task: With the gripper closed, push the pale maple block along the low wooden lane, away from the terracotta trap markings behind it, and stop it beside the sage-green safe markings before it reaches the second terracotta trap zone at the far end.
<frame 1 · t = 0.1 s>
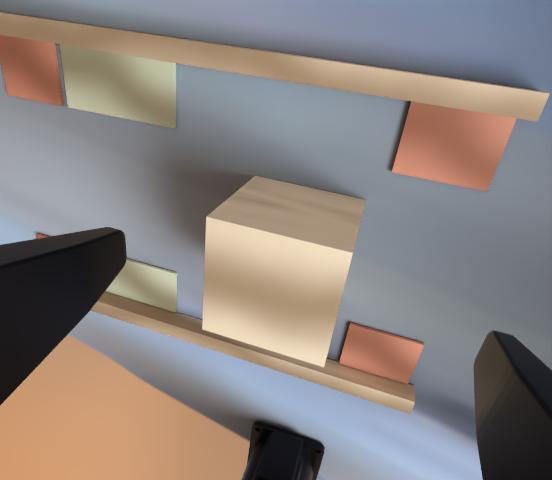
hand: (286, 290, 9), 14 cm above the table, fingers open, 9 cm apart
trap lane: (215, 217, 26), on the table
maple block: (300, 237, 25), on the table
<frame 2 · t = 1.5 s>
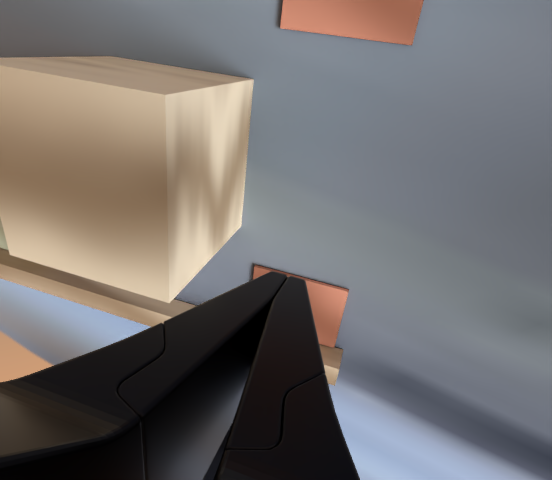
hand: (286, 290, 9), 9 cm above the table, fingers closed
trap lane: (74, 124, 20), on the table
maple block: (180, 145, 18), on the table
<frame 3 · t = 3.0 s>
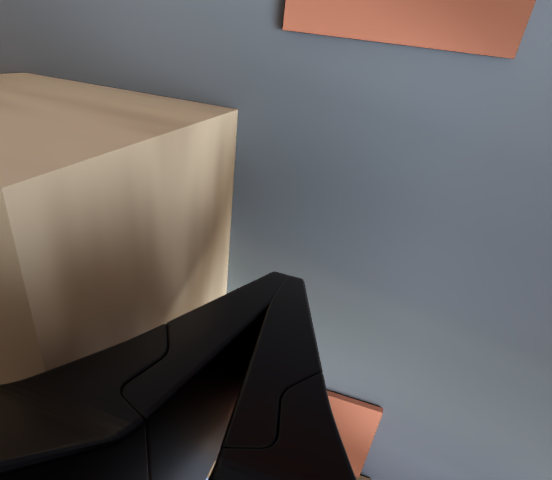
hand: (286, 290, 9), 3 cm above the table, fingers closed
maple block: (132, 202, 13), on the table, touching gripper
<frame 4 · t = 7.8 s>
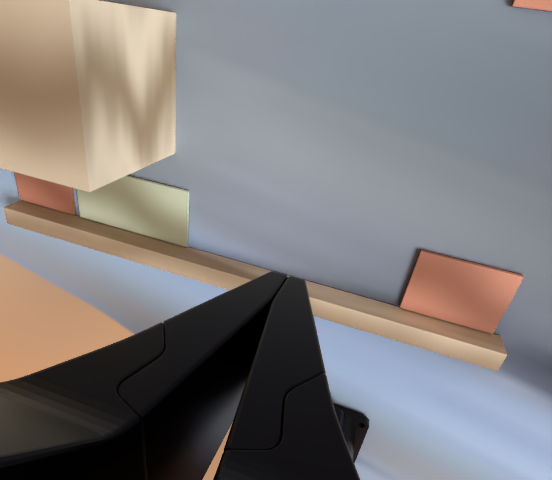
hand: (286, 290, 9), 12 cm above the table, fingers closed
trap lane: (245, 104, 19), on the table
maple block: (119, 77, 21), on the table
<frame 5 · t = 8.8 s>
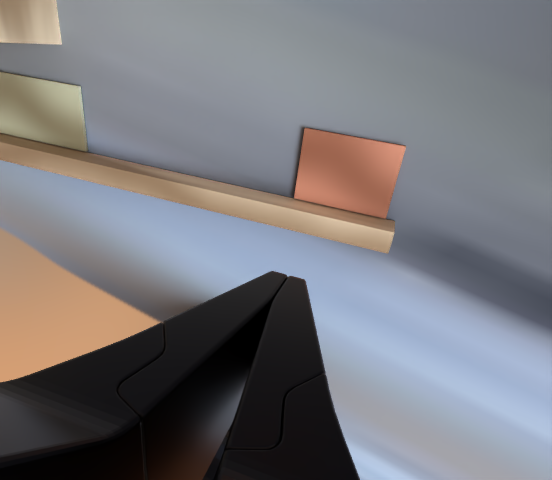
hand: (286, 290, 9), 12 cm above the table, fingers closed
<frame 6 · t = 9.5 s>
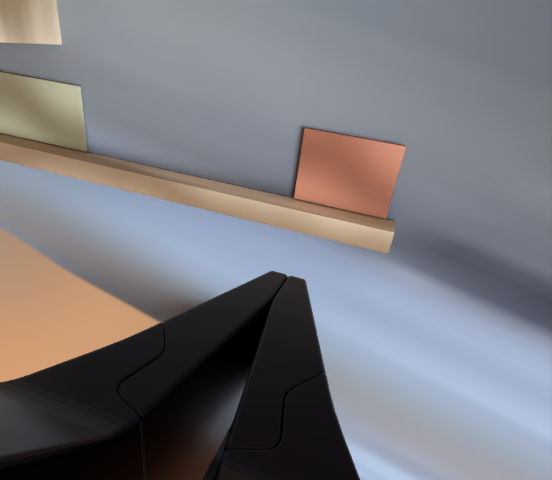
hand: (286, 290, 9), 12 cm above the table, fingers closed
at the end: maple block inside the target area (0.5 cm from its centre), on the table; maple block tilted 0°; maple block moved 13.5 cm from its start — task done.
